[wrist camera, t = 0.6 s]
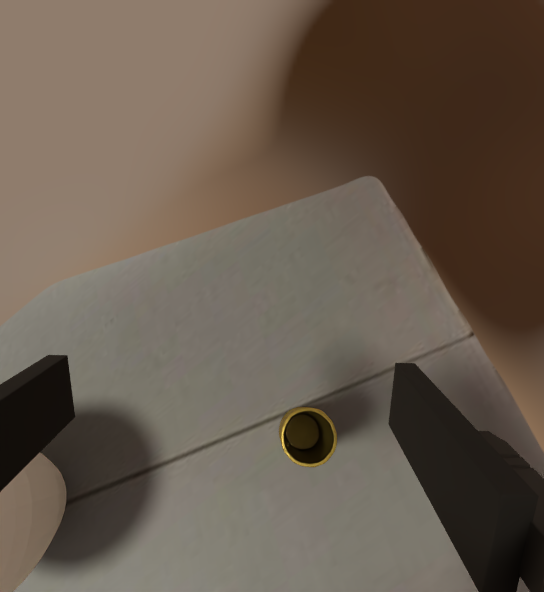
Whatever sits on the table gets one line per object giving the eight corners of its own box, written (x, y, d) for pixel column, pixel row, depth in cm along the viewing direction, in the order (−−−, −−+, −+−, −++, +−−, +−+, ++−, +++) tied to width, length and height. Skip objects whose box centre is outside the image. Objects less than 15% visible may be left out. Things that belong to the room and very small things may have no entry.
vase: (331, 450, 44) (350, 463, 31) (285, 462, 44) (284, 481, 31) (318, 402, 46) (330, 395, 33) (274, 413, 46) (268, 411, 33)
